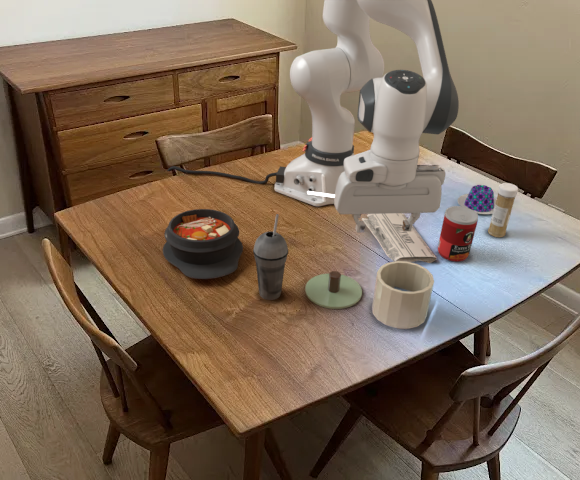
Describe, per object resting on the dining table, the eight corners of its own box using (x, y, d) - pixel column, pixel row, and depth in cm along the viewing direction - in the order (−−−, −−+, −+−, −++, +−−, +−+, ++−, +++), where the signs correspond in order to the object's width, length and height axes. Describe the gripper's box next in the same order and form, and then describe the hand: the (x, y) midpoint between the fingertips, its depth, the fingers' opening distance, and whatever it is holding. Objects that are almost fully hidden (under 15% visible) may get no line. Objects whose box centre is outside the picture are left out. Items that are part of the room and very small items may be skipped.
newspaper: (359, 220, 159) (361, 212, 158) (402, 221, 163) (404, 212, 161) (388, 267, 142) (391, 258, 140) (436, 267, 145) (438, 258, 143)
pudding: (499, 220, 163) (503, 202, 160) (454, 211, 166) (458, 194, 162) (502, 200, 172) (506, 183, 169) (459, 192, 175) (463, 176, 172)
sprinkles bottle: (508, 235, 157) (522, 188, 148) (496, 239, 154) (509, 192, 146) (495, 227, 160) (508, 180, 151) (483, 231, 157) (495, 184, 149)
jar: (364, 320, 126) (369, 283, 120) (381, 291, 134) (387, 255, 129) (417, 336, 122) (425, 299, 117) (431, 306, 131) (439, 269, 125)
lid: (295, 301, 130) (296, 281, 127) (318, 272, 139) (319, 253, 136) (349, 317, 126) (352, 297, 123) (369, 286, 136) (371, 267, 133)
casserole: (156, 233, 150) (152, 203, 145) (230, 224, 155) (229, 194, 150) (172, 291, 131) (168, 259, 126) (255, 278, 136) (255, 247, 131)
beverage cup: (252, 285, 134) (252, 205, 122) (285, 285, 135) (288, 205, 123) (253, 306, 128) (253, 223, 116) (287, 305, 129) (291, 223, 117)
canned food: (450, 265, 144) (459, 225, 137) (430, 248, 150) (438, 209, 143) (475, 258, 147) (485, 218, 140) (454, 242, 153) (463, 203, 146)
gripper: (442, 157, 115) (429, 221, 123) (335, 158, 112) (330, 223, 120) (452, 172, 110) (438, 237, 118) (341, 173, 107) (335, 240, 116)
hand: (383, 230), depth 119 cm, fingers open, 8 cm apart
